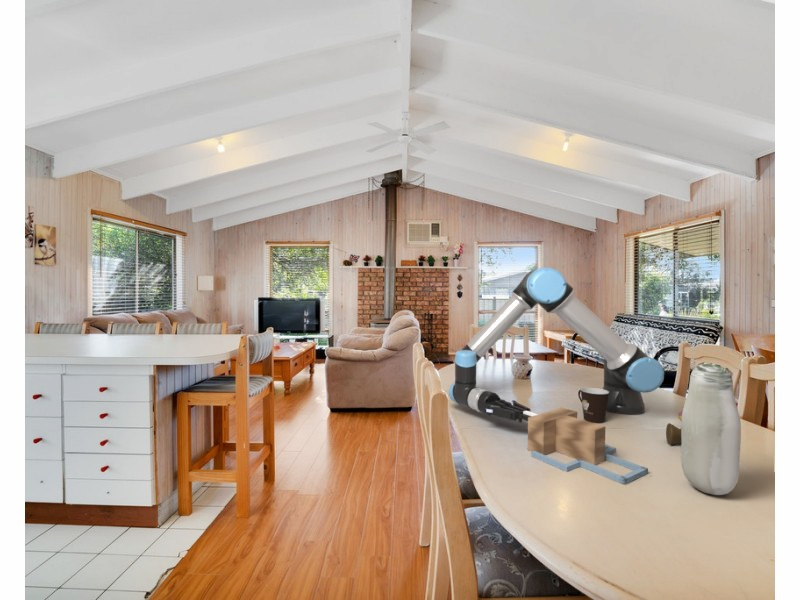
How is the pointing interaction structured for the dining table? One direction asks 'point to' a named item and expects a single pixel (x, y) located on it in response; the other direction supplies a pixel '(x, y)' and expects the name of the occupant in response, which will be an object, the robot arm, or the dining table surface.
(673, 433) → the kendama
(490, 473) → the dining table surface
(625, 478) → the t outline
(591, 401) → the coffee mug
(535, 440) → the t block
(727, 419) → the glass bottle
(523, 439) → the dining table surface
